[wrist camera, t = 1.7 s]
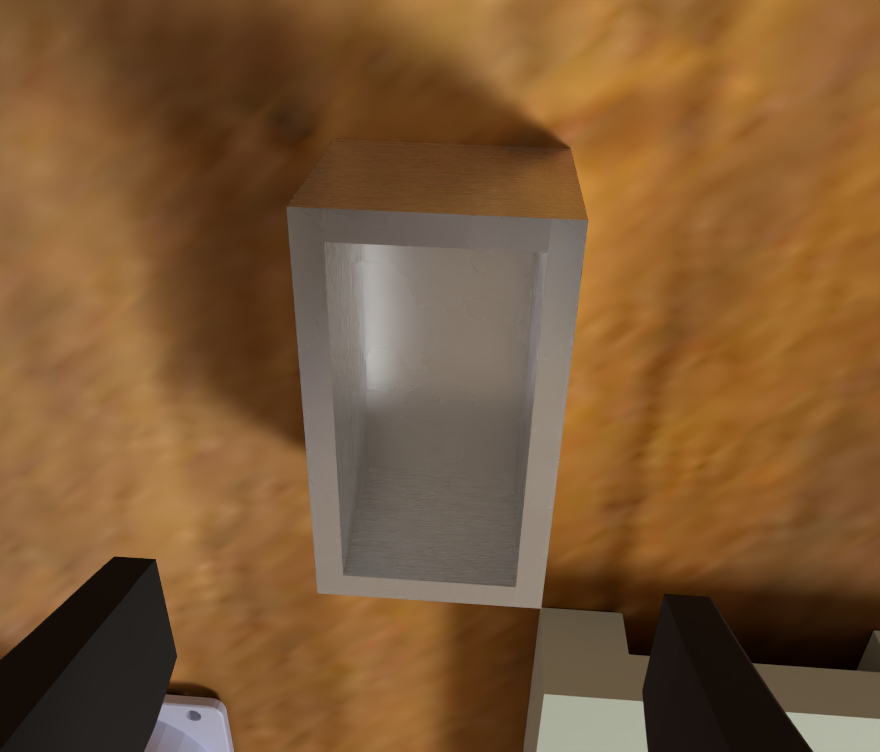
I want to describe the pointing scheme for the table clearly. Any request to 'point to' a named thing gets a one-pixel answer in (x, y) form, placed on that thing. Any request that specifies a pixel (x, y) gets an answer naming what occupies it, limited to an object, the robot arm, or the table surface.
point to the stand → (622, 678)
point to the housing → (435, 363)
